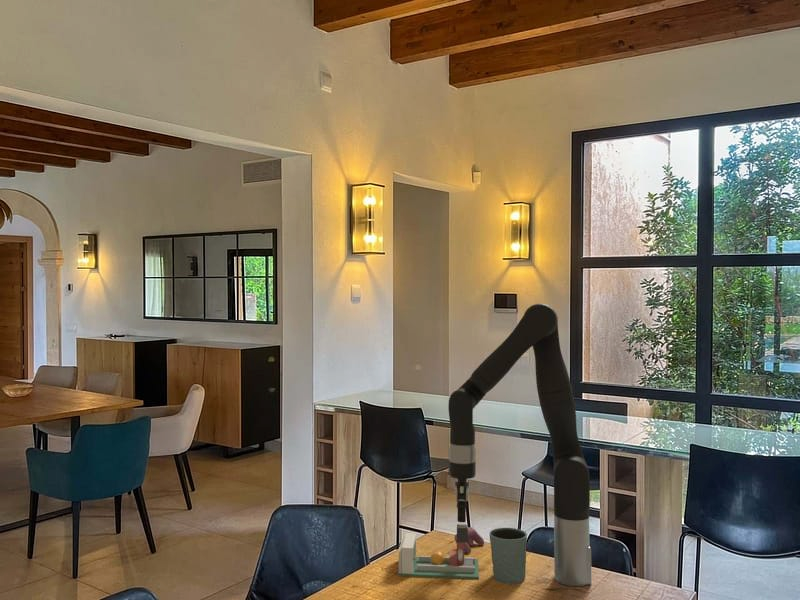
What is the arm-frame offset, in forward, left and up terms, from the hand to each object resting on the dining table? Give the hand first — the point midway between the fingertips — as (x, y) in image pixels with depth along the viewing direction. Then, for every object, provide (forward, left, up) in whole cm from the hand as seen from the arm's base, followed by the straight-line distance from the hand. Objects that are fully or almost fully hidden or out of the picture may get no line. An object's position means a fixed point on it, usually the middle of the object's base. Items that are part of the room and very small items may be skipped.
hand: (461, 517), depth 185 cm
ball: (+7, 0, -12) cm, 14 cm away
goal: (+15, 0, -15) cm, 21 cm away
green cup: (-13, +5, -15) cm, 20 cm away
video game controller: (-2, -17, -15) cm, 23 cm away
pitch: (+6, 0, -15) cm, 16 cm away
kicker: (0, 0, -15) cm, 15 cm away
